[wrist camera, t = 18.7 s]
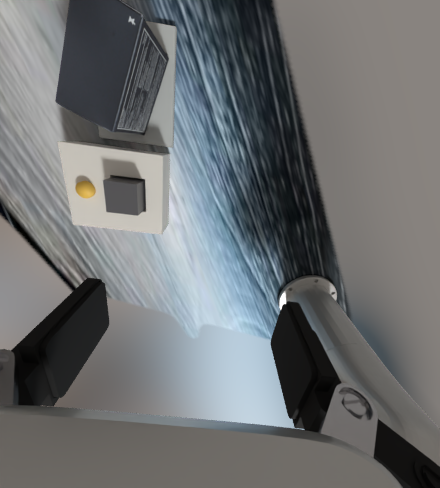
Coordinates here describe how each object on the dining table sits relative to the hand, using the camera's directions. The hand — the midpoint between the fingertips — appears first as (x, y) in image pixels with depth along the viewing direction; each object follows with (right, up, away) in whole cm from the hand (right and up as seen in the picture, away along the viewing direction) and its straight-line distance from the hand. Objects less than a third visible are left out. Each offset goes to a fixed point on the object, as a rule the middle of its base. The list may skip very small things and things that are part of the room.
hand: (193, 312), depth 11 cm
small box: (-10, +25, +18) cm, 33 cm away
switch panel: (-14, +13, +25) cm, 31 cm away
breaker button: (-12, +12, +23) cm, 29 cm away
